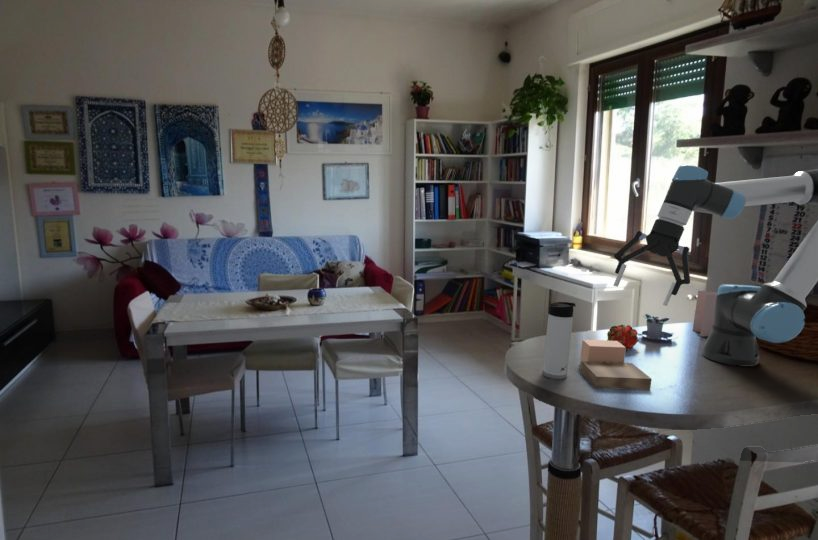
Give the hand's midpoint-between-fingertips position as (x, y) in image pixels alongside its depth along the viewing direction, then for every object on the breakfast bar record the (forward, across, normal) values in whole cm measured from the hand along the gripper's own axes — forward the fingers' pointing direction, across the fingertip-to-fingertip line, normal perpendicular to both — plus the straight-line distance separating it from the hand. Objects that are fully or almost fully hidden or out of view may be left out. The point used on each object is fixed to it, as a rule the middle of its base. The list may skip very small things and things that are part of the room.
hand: (639, 295), depth 153 cm
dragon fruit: (+19, -2, +22) cm, 30 cm away
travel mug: (+27, -9, -16) cm, 33 cm away
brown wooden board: (+23, +4, -9) cm, 25 cm away
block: (+23, -2, -1) cm, 23 cm away
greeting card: (+8, +18, +61) cm, 64 cm away
